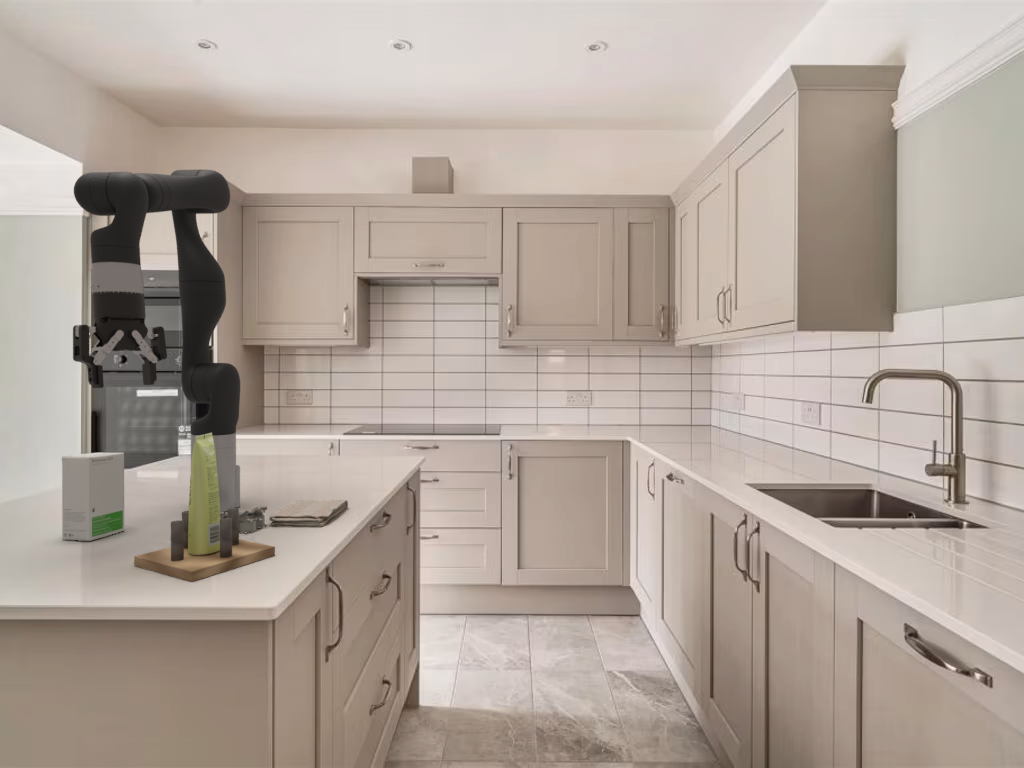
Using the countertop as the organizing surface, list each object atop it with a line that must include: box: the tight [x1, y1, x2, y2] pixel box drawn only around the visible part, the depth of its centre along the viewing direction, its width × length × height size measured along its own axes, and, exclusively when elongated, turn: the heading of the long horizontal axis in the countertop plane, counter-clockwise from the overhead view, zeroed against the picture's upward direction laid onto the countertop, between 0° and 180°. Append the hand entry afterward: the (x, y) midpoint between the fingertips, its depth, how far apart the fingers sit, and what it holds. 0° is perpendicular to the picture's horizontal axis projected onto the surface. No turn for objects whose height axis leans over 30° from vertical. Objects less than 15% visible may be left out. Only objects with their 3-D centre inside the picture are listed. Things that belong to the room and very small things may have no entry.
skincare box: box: [61, 451, 126, 542], centre depth 115 cm, size 8×7×16 cm
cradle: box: [133, 507, 276, 582], centre depth 100 cm, size 15×15×8 cm
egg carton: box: [220, 506, 268, 534], centre depth 121 cm, size 11×8×4 cm
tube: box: [188, 433, 220, 555], centre depth 100 cm, size 6×5×20 cm
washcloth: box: [268, 499, 349, 528], centre depth 131 cm, size 12×18×3 cm, turn 0°
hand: (124, 386), depth 104 cm, fingers open, 8 cm apart
